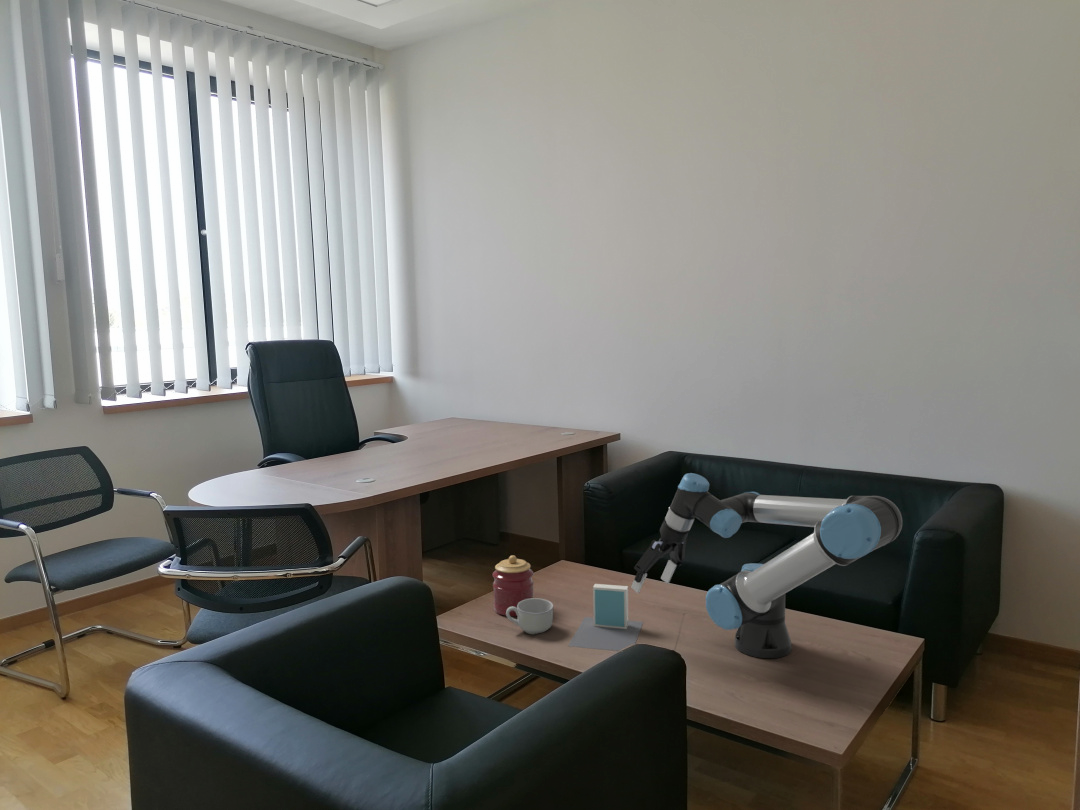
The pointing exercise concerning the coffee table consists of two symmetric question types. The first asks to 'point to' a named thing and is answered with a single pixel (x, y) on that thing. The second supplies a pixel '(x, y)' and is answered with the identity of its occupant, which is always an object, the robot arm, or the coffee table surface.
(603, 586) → the tile
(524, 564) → the canister
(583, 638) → the mat
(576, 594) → the coffee table surface
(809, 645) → the coffee table surface
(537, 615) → the teacup
